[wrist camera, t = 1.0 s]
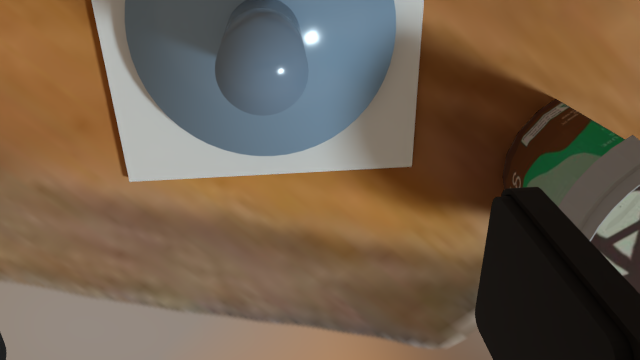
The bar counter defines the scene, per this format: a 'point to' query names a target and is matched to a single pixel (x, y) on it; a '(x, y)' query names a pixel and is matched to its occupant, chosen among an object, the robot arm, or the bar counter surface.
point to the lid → (261, 67)
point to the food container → (584, 179)
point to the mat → (209, 161)
